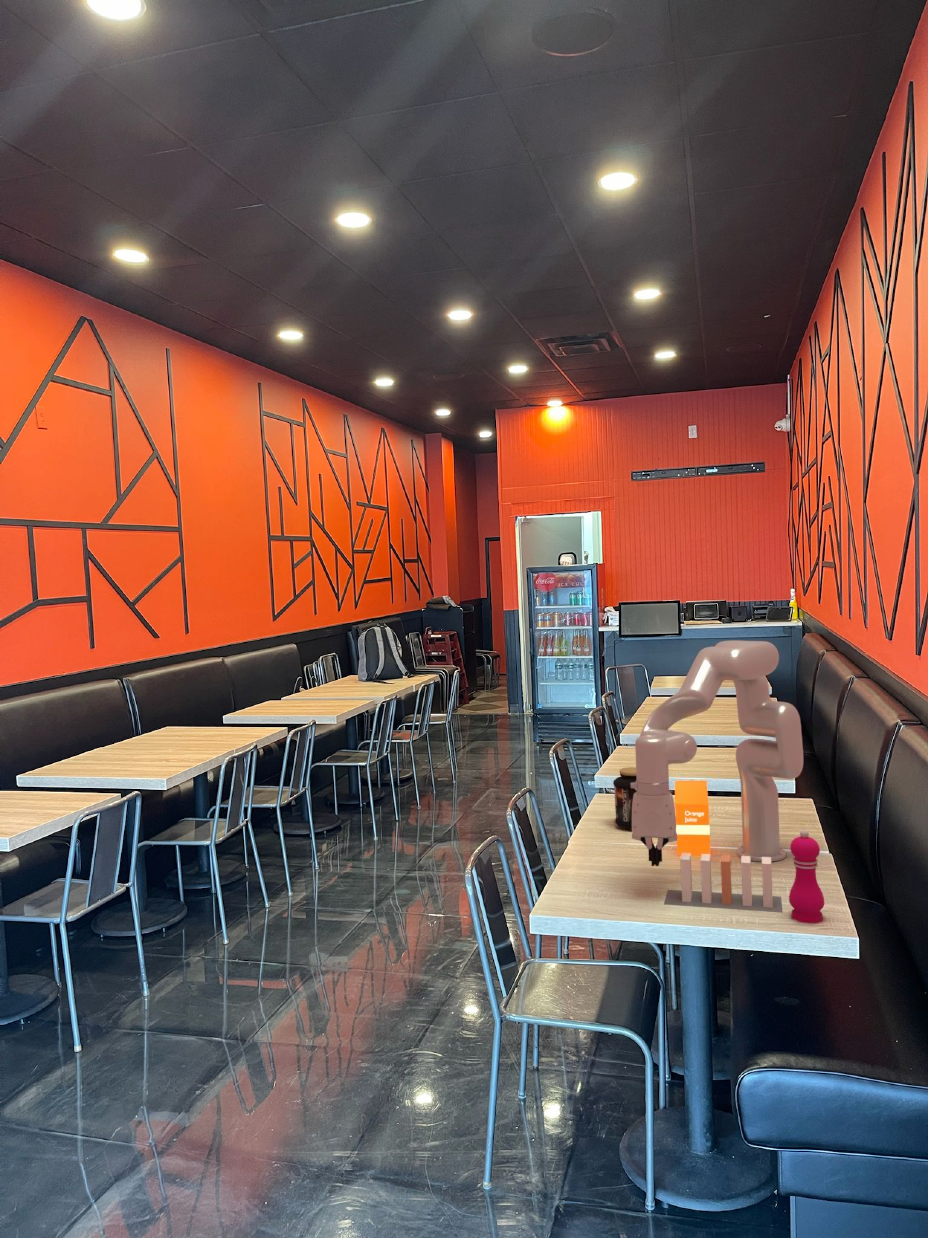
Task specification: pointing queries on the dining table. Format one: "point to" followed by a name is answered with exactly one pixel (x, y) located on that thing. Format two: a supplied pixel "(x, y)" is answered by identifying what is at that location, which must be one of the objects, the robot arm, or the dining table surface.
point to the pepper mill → (806, 880)
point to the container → (624, 797)
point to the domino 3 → (726, 879)
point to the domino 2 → (706, 878)
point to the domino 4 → (746, 880)
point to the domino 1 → (686, 877)
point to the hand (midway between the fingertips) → (655, 864)
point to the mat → (737, 901)
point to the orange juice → (692, 817)
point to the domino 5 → (767, 882)
